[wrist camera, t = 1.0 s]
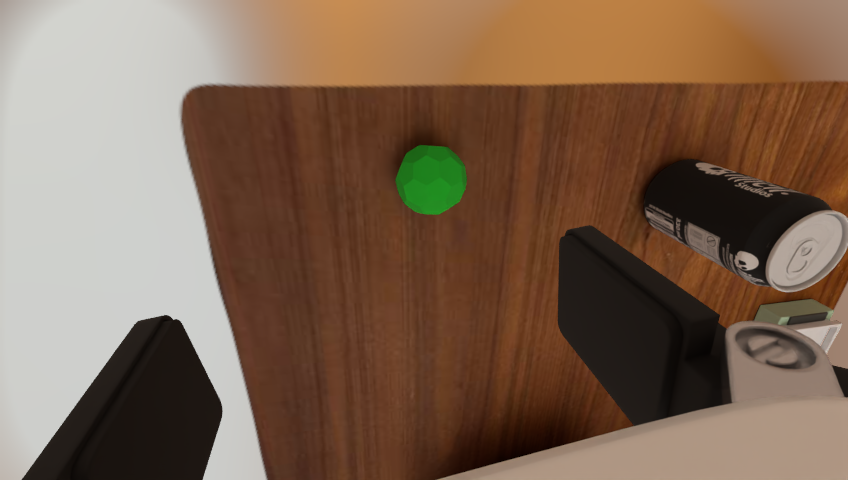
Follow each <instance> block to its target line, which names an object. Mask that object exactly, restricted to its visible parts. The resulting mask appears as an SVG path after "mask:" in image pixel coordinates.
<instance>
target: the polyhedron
mask: <svg viewBox="0 0 848 480" xmlns="http://www.w3.org/2000/svg"><path fill="white" fill-rule="evenodd" d="M395 181H396V185H397V189H398V193H399V195H400V197H401V199H402V200H403V202H404V203H405V204H406V205H407V206H408V207H410V208H411V209H412V210H414V211H415V212H418V213H422V214H436V215H439V214H441V213H442V212H444V211H446V210H447V209H449V208H451V207H452V206H454V205H455V204H457V203H458V202H459V201H460V199H461V197H462V195H463V193H464V191H465V188H466V182H467V177H466V171H465V165H464V164H463V163H462V161H461V160H460V158H459V157H458V156H457V155H456V154H455V153H454V152H453V151H452V150H450V149H449V148H448V147H441V146H427V145H419V146H417V147H416V148H414V149H412V150H411V151H409V152H408V153H406V155H405V157H404V159H403V161H402V164H401V166H400V168H399V171H398V174H397V176H396V179H395Z"/></svg>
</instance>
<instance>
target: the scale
mask: <svg viewBox="0 0 848 480" xmlns="http://www.w3.org/2000/svg"><path fill="white" fill-rule="evenodd" d="M833 312H834V310H832V309H830V308H828V307H826V306H824V305H823V304H821V303H819V302H817V301H815V300H813V299H807V300H799V301H790V302H782V303H774V304H766V305H760V307H759V310H758V312H757V314H756V317H755V319H754V321H762V322H770V323H774V324H778V325H782V326H785V327H788V328H791V329H793V330H796V331H798V332H800V333H802V334H804V335H806V336H807V337H809V338H811V339H812V340H814V341H815V342H816V343H817V344H819V345H821V343H822V341H823V340H824V341H823V343H822V345H821V347H822V348H823V350H824V351H825V352H826V354H827V352H828V350H829V348H830V346H831V344H832V343H833V341H834V339H835V337H836V335H837V333H838V332H839V330H840V328H841V326H842V323H841V322H839V321H837V320H836V321H830V318H831V316H832V314H833ZM829 328H830V330H829ZM828 330H829V331H828ZM827 332H828V333H827ZM826 334H827V335H826ZM825 336H826V337H825ZM824 338H825V339H824Z"/></svg>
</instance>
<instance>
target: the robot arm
mask: <svg viewBox="0 0 848 480" xmlns="http://www.w3.org/2000/svg"><path fill="white" fill-rule="evenodd" d="M719 317H720V315H719V314H717V313H716V312H715V311H713V310H712V309H710V308H709V307H707V306H706V305H704V304H703V303H702V302H700V301H699V300H697V299H696V298H694V297H693V296H692V295H690V294H689V293H687V292H686V291H684V290H683V289H682V288H680V287H679V286H677V285H676V284H674V283H673V282H672V281H670V280H669V279H667V278H666V277H664V276H663V275H662V274H660V273H659V272H657V271H656V270H654V269H653V268H651V267H650V266H649V265H647V264H646V263H644V262H643V261H641V260H640V259H639V258H637V257H636V256H634V255H633V254H631V253H630V252H629V251H627V250H626V249H624V248H623V247H621V246H620V245H619V244H617V243H616V242H614V241H613V240H611V239H610V238H609V237H607V236H606V235H604V234H603V233H601V232H600V231H598V230H597V229H596V228H594V227H593V226H590V225H589V226H584V227H579V228H574V229H570V230H567V231H566V234H565V236H563V237H561V239H560V243H559V288H558V325H559V329H560V331H561V333H562V335H563V336H564V337H565V339H566V340H567V341H568V342H569V344H570V345H571V346H572V347H573V349H574V350H575V351H576V353H577V354H578V355H579V356H580V358H581V359H582V360H583V361H584V363H585V364H586V365H587V366H588V368H589V369H590V370H591V372H592V373H593V374H594V375H595V377H596V378H597V379H598V380H599V382H600V383H601V384H602V386H603V387H604V388H605V389H606V391H607V392H608V393H609V394H610V396H611V397H612V398H613V399H614V401H615V402H616V403H617V405H618V406H619V407H620V408H621V410H622V411H623V412H624V413H625V415H626V416H627V417H628V419H629V420H630V421H631V422H632V424H633V425H634V426H633V427H629V428H625V429H621V430H618V431H614V432H610V433H607V434H603V435H599V436H595V437H592V438H588V439H584V440H581V441H577V442H573V443H570V444H566V445H562V446H558V447H555V448H551V449H547V450H544V451H540V452H536V453H533V454H529V455H525V456H521V457H518V458H514V459H510V460H507V461H503V462H499V463H496V464H492V465H488V466H485V467H481V468H477V469H474V470H470V471H466V472H463V473H459V474H456V475H452V476H448V477H445V478H441V479H437V480H848V369H845V368H842V367H837V366H833V365H831V362H830V360H829V357H828V355H827V354H826V352H825V351H824V350H823V348H822V347H821V346H820V345H819V344H817V343H816V342H815V341H814V340H812V339H811V338H809V337H807V336H806V335H804V334H802V333H800V332H798V331H796V330H793V329H791V328H788V327H785V326H782V325H778V324H774V323H770V322H762V321H743V322H739V323H736V324H733V325H731V326H730V327H729V328H728V329H726V328H725V327H723V326H722V325H720V324H719V323H718V321H719ZM221 418H222V405H221V401H220V399H219V397H218V395H217V393H216V391H215V389H214V387H213V385H212V383H211V381H210V379H209V377H208V375H207V373H206V371H205V369H204V367H203V365H202V363H201V361H200V359H199V357H198V355H197V353H196V351H195V349H194V347H193V345H192V343H191V341H190V339H189V337H188V335H187V333H186V331H185V329H184V327H183V325H182V323H181V322H180V321H179V320H177V319H175V320H173V319H172V318H171V317H170V316H167V315H164V316H159V317H155V318H150V319H145V320H141V321H138V322H137V323H136V324H135V325H134V326H133V328H132V329H131V330H130V332H129V333H128V334H127V336H126V337H125V339H124V340H123V341H122V343H121V344H120V345H119V347H118V348H117V350H116V351H115V352H114V354H113V355H112V356H111V358H110V359H109V361H108V362H107V363H106V365H105V366H104V368H103V369H102V370H101V372H100V373H99V375H98V376H97V377H96V379H95V380H94V381H93V383H92V384H91V385H90V387H89V388H88V389H87V391H86V392H85V394H84V395H83V396H82V398H81V399H80V401H79V402H78V403H77V405H76V406H75V407H74V409H73V410H72V411H71V413H70V414H69V416H68V417H67V418H66V420H65V421H64V423H63V424H62V425H61V426H60V428H59V429H58V431H57V432H56V433H55V435H54V436H53V437H52V439H51V440H50V442H49V443H48V444H47V446H46V447H45V448H44V450H43V451H42V453H41V454H40V455H39V457H38V458H37V459H36V461H35V462H34V464H33V465H32V466H31V468H30V469H29V471H28V472H27V473H26V475H25V476H24V478H23V479H22V480H203V476H204V473H205V470H206V467H207V463H208V460H209V457H210V454H211V450H212V447H213V444H214V441H215V437H216V434H217V431H218V428H219V425H220V421H221Z"/></svg>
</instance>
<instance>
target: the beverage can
mask: <svg viewBox="0 0 848 480" xmlns="http://www.w3.org/2000/svg"><path fill="white" fill-rule="evenodd" d="M644 213H645V216H646V219H647V221H648V222H649V223H650V225H651V226H653V227H654V228H656V229H657V230H659V231H661V232H663V233H664V234H666V235H668V236H670V237H672V238H673V239H675V240H677V241H679V242H680V243H682V244H684V245H686V246H687V247H689V248H691V249H693V250H694V251H696V252H698V253H700V254H701V255H703V256H705V257H707V258H708V259H710V260H712V261H714V262H715V263H717V264H719V265H721V266H722V267H724V268H726V269H728V270H730V271H731V272H733V273H735V274H737V275H738V276H740V277H742V278H744V279H745V280H747V281H749V282H751V283H753V284H755V285H759V286H770V287H773V288H775V289H777V290H779V291H782V292H795V291H799V290H803V289H805V288H807V287H810V286H811V285H813V284H815V283H816V282H818V281H820V280H821V279H822V278H824V277H825V276H826V275H827V274H828V273H829V272H830V271H831V270H832V269H833V268H834V267H835V266H836V265H837V263H838V262H839V261H840V260H841V258H842V257H843V255H844V253H845V251H846V249H847V247H848V218H847V217H846V216H845V215H843V214H842V213H840V212H836V211H833V210H832V209H831V208H830V207H829V205H828V204H827V203H826V202H824V201H823V200H821V199H820V198H817V197H814V196H811V195H807V194H804V193H801V192H798V191H795V190H792V189H788V188H785V187H782V186H779V185H776V184H772V183H769V182H766V181H763V180H760V179H756V178H753V177H750V176H747V175H744V174H740V173H737V172H734V171H731V170H728V169H724V168H721V167H718V166H715V165H712V164H709V163H705V162H702V161H699V160H694V159H687V160H682V161H678V162H676V163H674V164H672V165H670V166H668V167H667V168H665V169H664V170H662V171H661V172H660V173H659V174H657V175H656V177H655V178H654V179H653V180H652V181H651V183H650V185H649V186H648V188H647V191H646V193H645V198H644Z"/></svg>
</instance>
